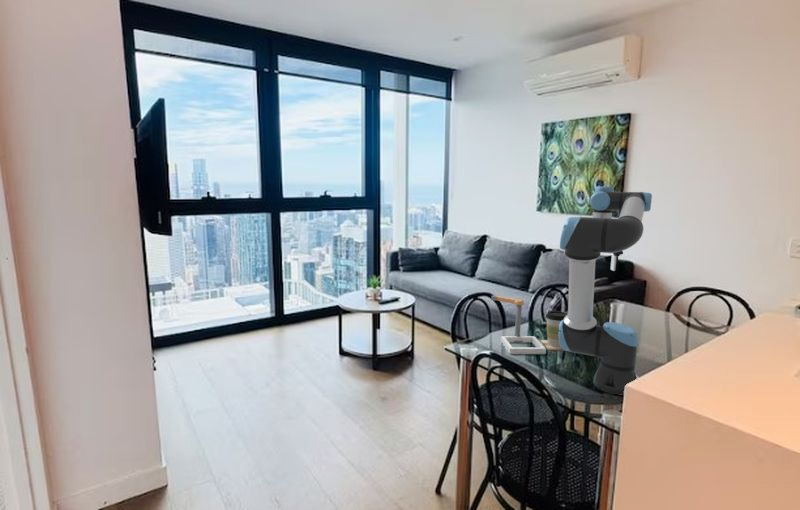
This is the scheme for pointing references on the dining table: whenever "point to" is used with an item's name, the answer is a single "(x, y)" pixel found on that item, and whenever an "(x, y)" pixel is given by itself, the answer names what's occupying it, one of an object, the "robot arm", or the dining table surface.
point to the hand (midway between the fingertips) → (597, 270)
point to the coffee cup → (554, 327)
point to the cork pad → (550, 348)
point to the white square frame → (522, 339)
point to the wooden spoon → (507, 300)
